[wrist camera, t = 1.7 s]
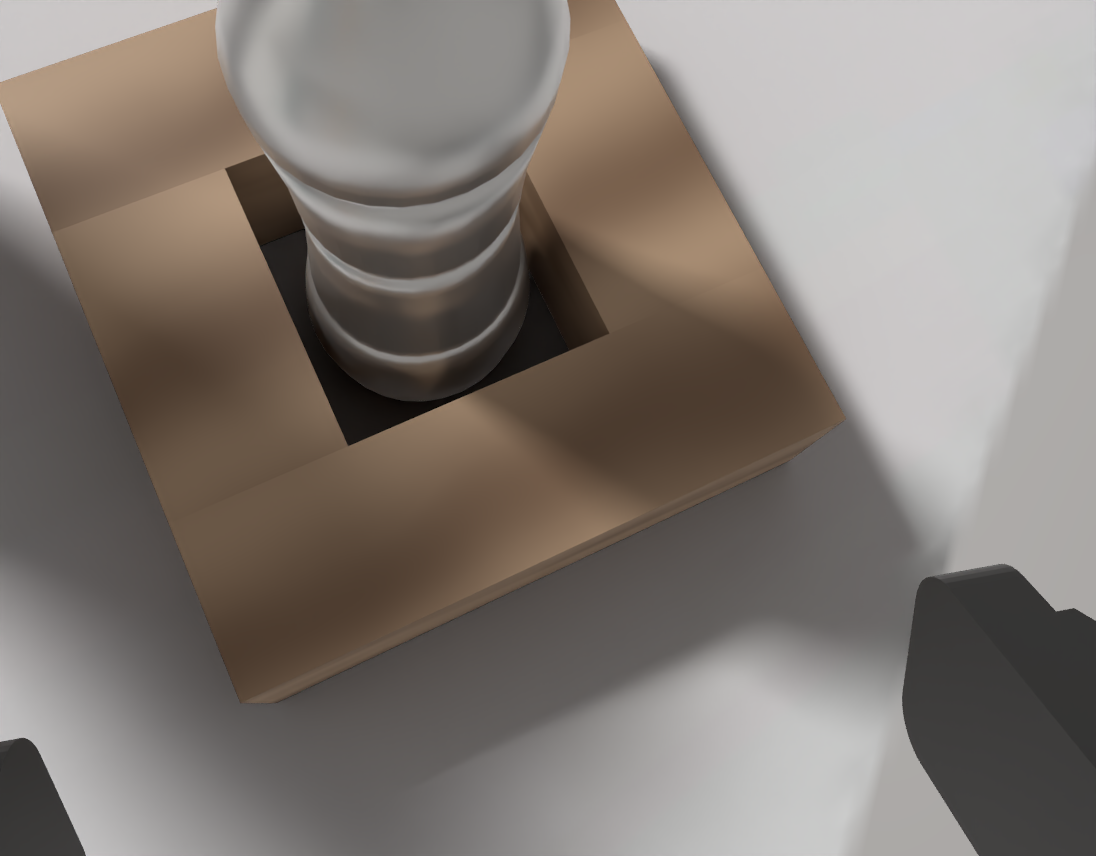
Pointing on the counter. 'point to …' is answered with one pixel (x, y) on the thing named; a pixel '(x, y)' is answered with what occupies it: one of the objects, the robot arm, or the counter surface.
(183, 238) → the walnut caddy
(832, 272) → the counter surface
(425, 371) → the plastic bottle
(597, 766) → the counter surface
